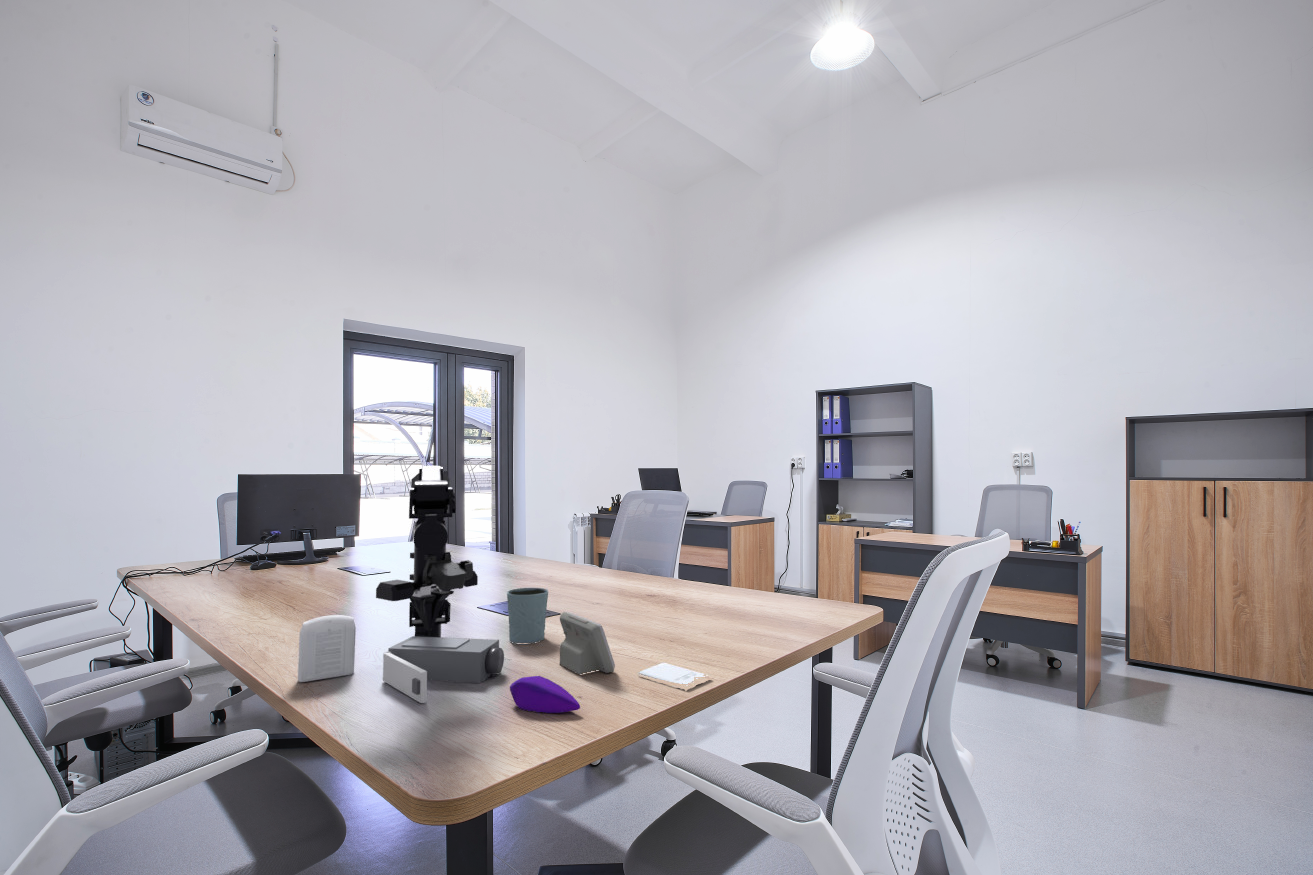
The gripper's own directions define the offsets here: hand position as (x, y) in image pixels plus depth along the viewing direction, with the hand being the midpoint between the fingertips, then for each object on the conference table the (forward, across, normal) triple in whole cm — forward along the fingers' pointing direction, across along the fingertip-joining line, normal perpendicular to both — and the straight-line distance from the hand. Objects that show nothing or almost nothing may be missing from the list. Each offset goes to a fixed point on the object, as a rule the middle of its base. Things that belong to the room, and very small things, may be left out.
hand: (428, 629), depth 114 cm
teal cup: (+12, +37, +11) cm, 40 cm away
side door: (+12, -2, +5) cm, 13 cm away
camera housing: (+12, +9, +7) cm, 17 cm away
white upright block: (+12, -6, +26) cm, 29 cm away
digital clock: (+12, +29, -14) cm, 35 cm away
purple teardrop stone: (+12, +7, -23) cm, 27 cm away
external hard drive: (+13, +33, -34) cm, 49 cm away
